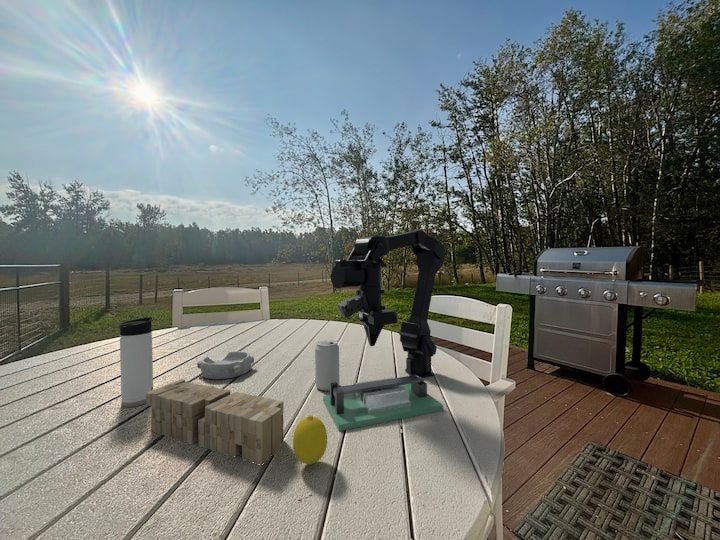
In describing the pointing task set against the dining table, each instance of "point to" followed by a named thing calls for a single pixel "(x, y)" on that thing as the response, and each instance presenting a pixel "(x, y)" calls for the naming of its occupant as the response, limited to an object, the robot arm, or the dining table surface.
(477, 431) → the dining table surface
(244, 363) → the dish
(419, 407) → the circuit board
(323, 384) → the beverage can
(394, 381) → the strap
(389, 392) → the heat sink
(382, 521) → the dining table surface
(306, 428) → the lemon
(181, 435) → the block tower
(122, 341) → the travel mug
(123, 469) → the dining table surface
